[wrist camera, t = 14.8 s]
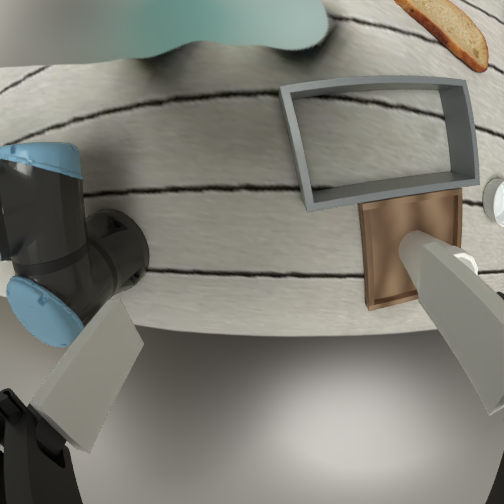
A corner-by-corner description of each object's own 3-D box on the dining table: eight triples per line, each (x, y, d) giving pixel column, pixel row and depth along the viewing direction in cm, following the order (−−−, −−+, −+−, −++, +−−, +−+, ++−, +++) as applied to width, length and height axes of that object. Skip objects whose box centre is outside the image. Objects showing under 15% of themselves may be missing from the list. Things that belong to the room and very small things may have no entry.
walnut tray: (365, 303, 46) (368, 311, 44) (357, 200, 39) (362, 203, 37) (450, 281, 43) (456, 287, 41) (454, 185, 36) (462, 188, 34)
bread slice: (384, -14, 24) (391, -22, 20) (455, -6, 20) (464, -12, 17) (427, 74, 30) (438, 71, 27) (491, 73, 26) (503, 71, 23)
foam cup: (443, 247, 40) (484, 282, 28) (408, 282, 43) (440, 326, 31) (418, 209, 38) (463, 238, 26) (380, 248, 41) (413, 289, 29)
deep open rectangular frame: (302, 200, 40) (307, 212, 34) (278, 95, 34) (279, 86, 28) (455, 176, 36) (479, 184, 29) (442, 84, 30) (465, 80, 23)
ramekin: (478, 180, 35) (492, 185, 31) (504, 171, 34) (518, 175, 30) (481, 225, 38) (494, 232, 34) (507, 213, 37) (520, 220, 33)
